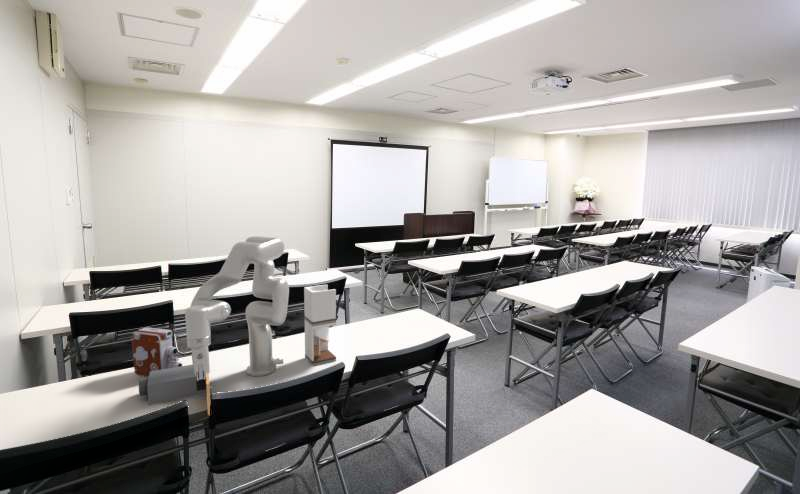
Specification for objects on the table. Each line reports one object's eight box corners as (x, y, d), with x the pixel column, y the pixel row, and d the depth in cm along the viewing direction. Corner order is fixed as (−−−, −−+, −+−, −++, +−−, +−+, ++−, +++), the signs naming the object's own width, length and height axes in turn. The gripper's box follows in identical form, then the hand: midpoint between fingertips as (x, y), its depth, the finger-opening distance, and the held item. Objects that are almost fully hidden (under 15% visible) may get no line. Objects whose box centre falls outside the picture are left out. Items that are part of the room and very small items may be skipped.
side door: (206, 393, 157) (205, 364, 155) (212, 392, 157) (210, 363, 156) (207, 415, 142) (206, 384, 140) (213, 414, 143) (212, 383, 141)
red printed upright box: (170, 382, 165) (167, 336, 162) (131, 376, 169) (127, 331, 166) (186, 372, 174) (184, 328, 171) (149, 367, 178) (145, 324, 175)
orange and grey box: (206, 380, 168) (206, 362, 166) (208, 393, 157) (207, 374, 156) (142, 391, 157) (140, 372, 156) (139, 407, 147) (137, 386, 145)
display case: (312, 366, 183) (312, 292, 178) (305, 357, 192) (304, 287, 186) (335, 360, 189) (335, 289, 184) (327, 352, 198) (327, 284, 192)
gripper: (211, 346, 135) (214, 396, 138) (209, 331, 148) (212, 377, 151) (186, 350, 132) (190, 401, 135) (187, 334, 145) (190, 381, 148)
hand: (201, 388), depth 143 cm, fingers closed
